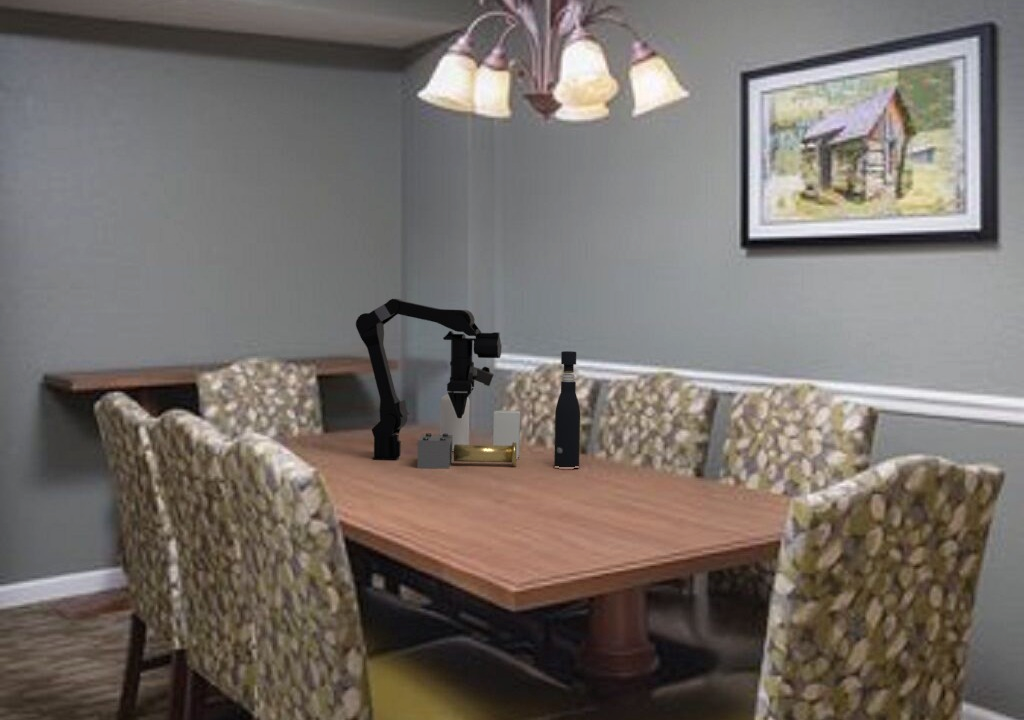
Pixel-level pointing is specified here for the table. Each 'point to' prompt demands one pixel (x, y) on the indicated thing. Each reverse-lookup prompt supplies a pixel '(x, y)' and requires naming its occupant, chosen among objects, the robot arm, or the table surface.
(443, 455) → the housing
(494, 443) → the supplement box
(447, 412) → the white bottle
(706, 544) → the table surface
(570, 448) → the black water bottle
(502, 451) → the brass cylinder
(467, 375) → the robot arm
